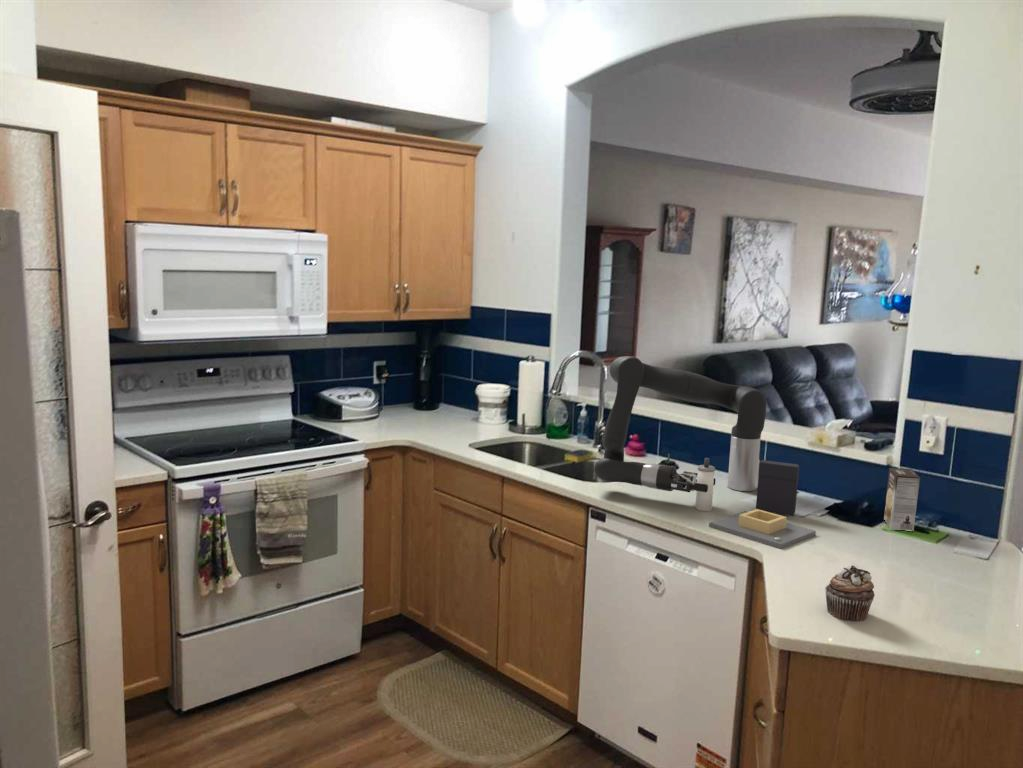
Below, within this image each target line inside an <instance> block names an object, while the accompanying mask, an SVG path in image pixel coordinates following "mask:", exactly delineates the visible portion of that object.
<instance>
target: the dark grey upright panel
mask: <svg viewBox="0 0 1023 768" xmlns="http://www.w3.org/2000/svg"><path fill="white" fill-rule="evenodd" d="M799 473H800V464H797V463H790V462H780V461H773V460H767V459H766V460H765V459H761V460H760V463H759V472H758V487H757V489H756V491H757V492H756V501H755V502H756V503H755V510H756V509H759V510H763V511H766V512H770V513H774V514H777V515H782V516H791V517H794V516H795V514H796V510H797V509H796V507H797V498H798V497H797V496H798V495H797V494H798V486H799V485H798V484H799Z"/></svg>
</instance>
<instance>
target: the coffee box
mask: <svg viewBox="0 0 1023 768" xmlns="http://www.w3.org/2000/svg"><path fill="white" fill-rule="evenodd" d="M888 469H889V470H888V478H887V486H886V497H885V505H884V506H885V508H884V515H883V521H884V520H885V521H884V522H886V523H887V524H886V523H885V524H886V525H887V526H889V527H888V528H889V530H890V531H895V530H912V531H915V521H916V513H917V508H918V507H917V505H918V498H919V489H920V480H921V477H920V476H919V475H918V474H917V473H916V472H915V470H914V469H911V468H900V467H898V468H895V467H889V468H888Z"/></svg>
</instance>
